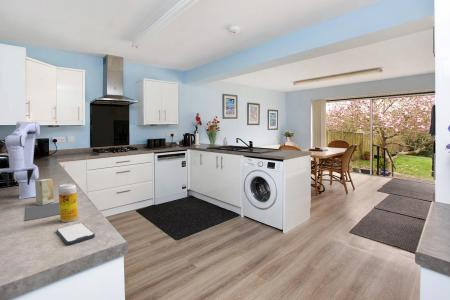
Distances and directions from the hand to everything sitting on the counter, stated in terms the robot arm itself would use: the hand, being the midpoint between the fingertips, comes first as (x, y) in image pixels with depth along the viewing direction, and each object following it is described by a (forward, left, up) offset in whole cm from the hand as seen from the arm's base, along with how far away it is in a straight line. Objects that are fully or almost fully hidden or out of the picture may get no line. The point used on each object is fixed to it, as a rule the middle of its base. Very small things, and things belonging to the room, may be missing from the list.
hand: (18, 185), depth 118 cm
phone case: (+58, +17, -10) cm, 62 cm away
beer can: (+41, +17, -10) cm, 45 cm away
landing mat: (+21, +10, -9) cm, 25 cm away
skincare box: (+8, +10, -9) cm, 16 cm away
